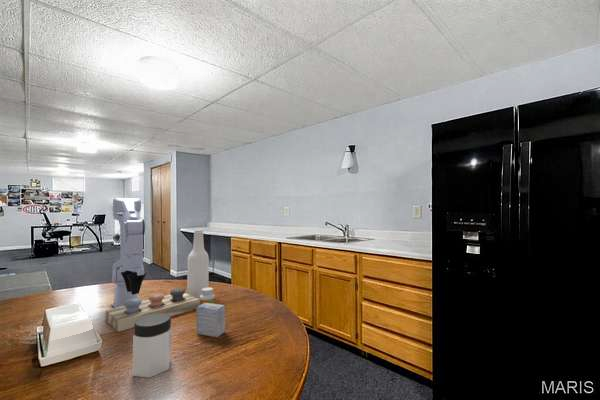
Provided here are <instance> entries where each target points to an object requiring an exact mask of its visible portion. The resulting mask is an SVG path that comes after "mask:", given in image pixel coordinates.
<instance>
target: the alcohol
mask: <svg viewBox="0 0 600 400" xmlns="http://www.w3.org/2000/svg"><path fill="white" fill-rule="evenodd" d="M204 241H205V240H204V229H200V228H198V229H197V228H196V229H194V230H193V243H192V250H191V251H190V253H189V254H188V256H187V276H186V277H187V278H186V279H187V285H186V288H187V290H186V293H187V294H189V295H191V296H194V297H196V298H199V299H200V296H201V295H202V289H203V288H207V287H209V286H210V285H209V272H210V271H209V270H210V268H209V266H210V265H209V262H210V259H209V253H208V252H207V251H206V249H205V244H204V243H205V242H204Z"/></svg>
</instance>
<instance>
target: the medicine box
mask: <svg viewBox="0 0 600 400" xmlns="http://www.w3.org/2000/svg"><path fill="white" fill-rule="evenodd" d="M225 332H226V305H225V304H220V303H219V304H218V303H215V304H212V303H204V304H202V305H200V306H198V307H197V309H196V334H197V335H201V336H202V335H203V336H206V337H207V336H208V337H213V338H218V337H219V338H220V336H221V335H223V334H224V333H225Z"/></svg>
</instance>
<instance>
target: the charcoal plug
mask: <svg viewBox="0 0 600 400" xmlns="http://www.w3.org/2000/svg"><path fill="white" fill-rule="evenodd" d="M184 293H186V289H184V288H174V289H171V290H170V294H169V295H172V301H173V302H178V301H182V300H183V294H184Z"/></svg>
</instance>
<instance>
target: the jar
mask: <svg viewBox="0 0 600 400" xmlns="http://www.w3.org/2000/svg"><path fill="white" fill-rule="evenodd" d="M133 330H134V331H133V334H134V335H133V336H132V376H133V377H138V378H139V377H140V378H147V379H148V378H149V379H150V378H152V377H154V376H157V375H159V374H161V373H163V372H166V371H168V370H169V369H170V364H171V356H172V354H171V352H172V349H171V348H172V339H171V338H172V316H170V315H168V314H151V315H147V316H144V317H141V318H139V319H138V320H136V321H135V323H134V327H133Z"/></svg>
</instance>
